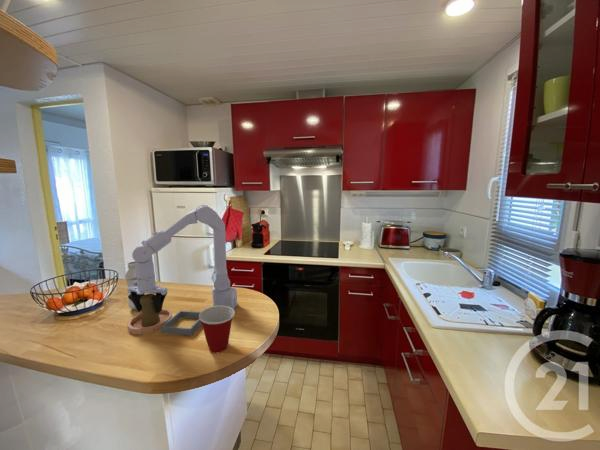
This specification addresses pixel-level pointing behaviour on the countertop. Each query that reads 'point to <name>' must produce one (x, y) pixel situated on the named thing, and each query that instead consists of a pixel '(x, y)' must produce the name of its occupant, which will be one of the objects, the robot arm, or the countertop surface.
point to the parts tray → (179, 330)
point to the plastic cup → (217, 326)
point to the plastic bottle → (131, 281)
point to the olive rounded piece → (148, 311)
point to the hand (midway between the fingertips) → (149, 311)
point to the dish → (136, 327)
